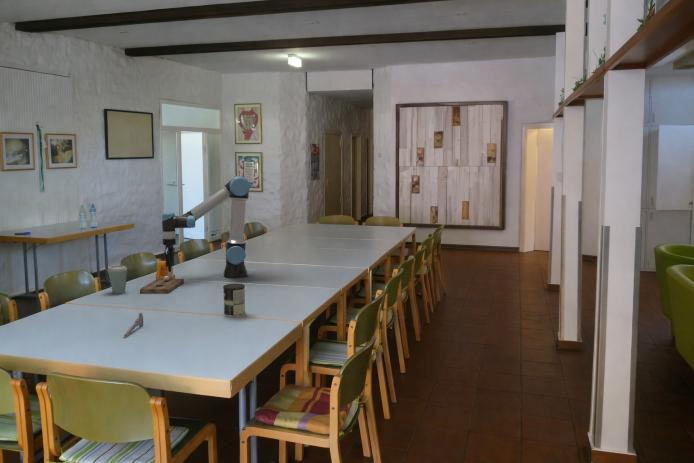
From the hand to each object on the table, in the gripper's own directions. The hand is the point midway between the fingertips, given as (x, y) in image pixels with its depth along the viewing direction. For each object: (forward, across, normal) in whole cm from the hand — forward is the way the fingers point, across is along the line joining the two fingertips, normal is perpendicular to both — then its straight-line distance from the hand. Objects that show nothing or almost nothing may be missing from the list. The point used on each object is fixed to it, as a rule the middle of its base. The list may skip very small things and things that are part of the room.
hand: (170, 276), depth 366 cm
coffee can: (+4, +74, +55) cm, 93 cm away
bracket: (+4, -9, -6) cm, 12 cm away
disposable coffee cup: (+4, +28, -21) cm, 35 cm away
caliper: (+5, +105, +17) cm, 106 cm away
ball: (0, +8, 0) cm, 8 cm away
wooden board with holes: (+4, +15, 0) cm, 15 cm away
